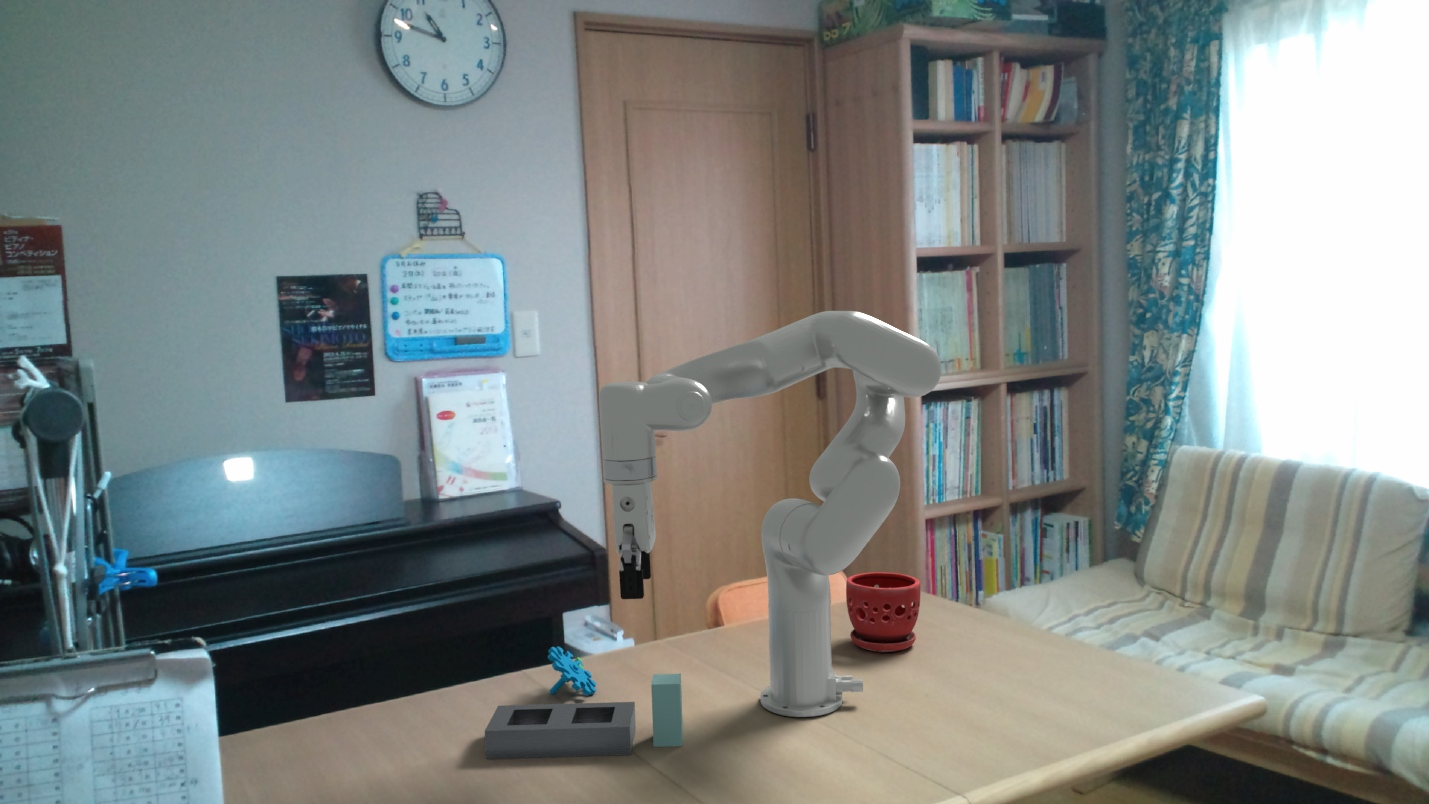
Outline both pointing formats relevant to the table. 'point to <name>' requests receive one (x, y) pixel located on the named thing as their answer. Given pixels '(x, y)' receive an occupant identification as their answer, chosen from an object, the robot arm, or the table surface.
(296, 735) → the table surface
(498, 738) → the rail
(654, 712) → the peg
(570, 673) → the gear
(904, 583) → the plant pot
